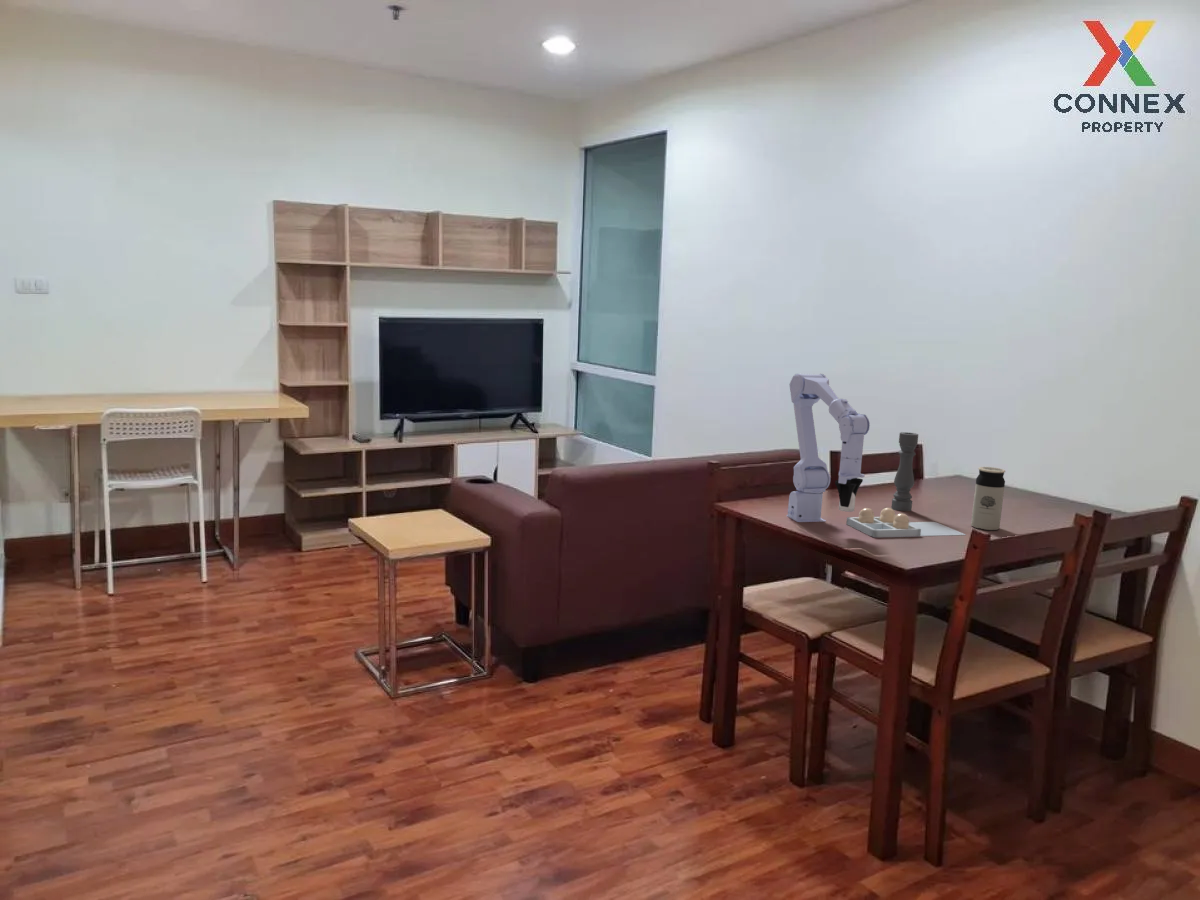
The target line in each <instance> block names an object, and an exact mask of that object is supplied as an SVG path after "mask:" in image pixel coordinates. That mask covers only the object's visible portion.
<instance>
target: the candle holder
mask: <svg viewBox="0 0 1200 900" xmlns="http://www.w3.org/2000/svg"><path fill="white" fill-rule="evenodd" d="M898 435H899V437H898V445H899V448H900V450H899V451H898V455H899V465H898V468H897V471H896V474H895V476H894V479H893V483H894V486H895V490H896V491H895V492H894V493H893V495H892V496H893V498H892V499H891V507H890V508H891V509H893V510H894V511H901V512H911V511H912V510H913V509H912V507H913V500H912V498H913V495H912V494H911V492H910V491H912V490H911V489H912V488H913V487H914V485H915V478H914V470H913V460H914V457H915V456H916V455H917V454H916V452H915V449H916V448H917V445H918V443H919V442H918V441H919V434H918V433H916V432H903V431H901V432H899V434H898Z"/></svg>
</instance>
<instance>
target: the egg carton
mask: <svg viewBox="0 0 1200 900" xmlns="http://www.w3.org/2000/svg"><path fill="white" fill-rule="evenodd" d="M845 524H846V525H847V526H849V527H850V528H853V529H855V530H857V531H860V532H862V533H864V534H865V535H867V536H870V537H872V538H904V537H905V538H907V537H908V538H909V537H911V538H912V537H915V538H916V537H945V536H946V537H947V536H949V537H950V536H951V537H952V536H966V535H967V534H965V533H963V532H962V531H961V532H960V531H958V530H956V529H954V528H951V527H949V526H946V525H944V524H941V523H940V522H936V521H915V522H913V521H909V526H908V529H896V528H894V527H893V523H883V522H881V521H880V516H874V522H873V523H861V522H859V516H852V517H848V516H847V517H846V523H845Z"/></svg>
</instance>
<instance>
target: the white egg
mask: <svg viewBox="0 0 1200 900" xmlns="http://www.w3.org/2000/svg"><path fill="white" fill-rule="evenodd" d="M838 503H839V505H838V511H840V512H849V513H852V512H855V506H856V497H855V494H854V493H853V492H852V496H851V500H850V504H849V506H848V507H843V506H841V505H840V500H839V502H838Z"/></svg>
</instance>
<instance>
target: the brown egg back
mask: <svg viewBox="0 0 1200 900" xmlns="http://www.w3.org/2000/svg"><path fill="white" fill-rule="evenodd" d="M909 522H910V519H909V517H908V515H907V514H905V513H902V512H900V513H896V514H895V517H894V521H893V527H894V528H896V529H908V526H909Z"/></svg>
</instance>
